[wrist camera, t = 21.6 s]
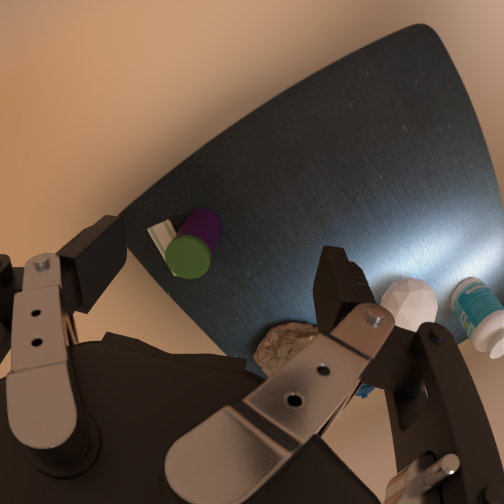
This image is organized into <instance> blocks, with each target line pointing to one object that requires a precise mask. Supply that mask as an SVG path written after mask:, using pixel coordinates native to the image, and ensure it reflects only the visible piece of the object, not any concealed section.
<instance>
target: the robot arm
mask: <svg viewBox="0 0 504 504" xmlns="http://www.w3.org/2000/svg"><path fill="white" fill-rule="evenodd" d="M126 257H127V247H126V233H125V221H124V219H123V217H118V216H110V215H105V216H104V217H103V218H101V219H100V220H99V221H98V222H96V223H95V224H94V225H92V226H90V227H88V228H86V229H83V231H81V232H80V233H79V234H77V236H76V237H74V238H73V239H72V240H71V241H69V242H68V243H67V244H66V245H65V246H63V247H62V248H61V249H60V250H59V251H58V252H57V253H56V254H52V253H45V254H39V255H36V256H34V257H33V258H31V259H29V260H28V261H27V262H26V264H25V267H12V264H11V261H10V257H9V256H8V255H5V254H0V364H1V362H2V361H3V359H4V358H5V356H6V355H7V353H8V352H9V350H10V349H11V371H10V372H9V373H8V374H7V376H6V377H3V378H1V379H0V504H381V503H380V501H379V499H378V498H377V497H376V495H375V494H374V493H373V492H372V491H371V490H370V489H369V488H368V487H367V486H366V485H365V484H364V483H363V482H362V481H361V480H360V479H359V478H358V477H357V476H356V475H355V474H354V472H353V471H352V470H351V469H350V468H349V467H348V466H347V465H346V464H345V463H344V462H343V461H342V460H341V459H340V458H339V457H338V456H337V455H336V453H335V452H334V451H333V450H332V449H331V448H330V447H329V446H328V445H327V444H326V443H325V442H324V440H323V439H322V438H323V437H324V436H325V435H326V433H327V432H328V431H329V429H330V428H331V427H332V425H333V424H334V423H335V421H336V420H337V418H338V417H339V416H340V415H341V413H342V412H343V411H344V409H345V408H346V406H347V405H348V404H349V403H350V401H351V400H352V399H353V397H354V396H355V394H356V393H357V392H358V390H359V389H360V387H361V386H362V385H363V383H364V384H367V385H370V386H373V387H377V388H380V389H384V391H385V396H386V401H387V407H388V413H389V418H390V424H391V431H392V436H393V443H394V451H395V458H396V467H397V474H396V475H395V476H394V477H393V478H392V479H391V480H390V481H389V483H388V485H387V488H386V496H385V501H384V503H383V504H504V470H503V467H502V463H501V459H500V456H499V452H498V449H497V445H496V442H495V439H494V436H493V433H492V430H491V427H490V424H489V421H488V418H487V415H486V412H485V410H484V407H483V404H482V402H481V399H480V397H479V394H478V392H477V389H476V387H475V384H474V382H473V379H472V377H471V375H470V372H469V370H468V368H467V365H466V363H465V361H464V359H463V357H462V354H461V352H460V350H459V348H458V346H457V344H456V342H455V340H454V337H453V336H452V334H451V333H450V332H449V331H448V330H447V329H446V328H445V327H443V326H441V325H440V324H437V323H434V322H424V323H422V324H421V325H420V326H419V328H418V329H417V331H416V332H414V331H411V330H407V329H404V328H401V327H398V326H396V325H395V319H394V316H393V315H392V314H391V312H389V311H388V310H387V309H386V308H384V307H382V306H380V305H378V304H376V301H375V299H374V296H373V294H372V291H371V289H370V287H369V286H368V285H369V284H368V282H367V280H366V277H365V275H364V273H363V270H362V269H361V268H360V267H359V266H358V265H357V264H356V263H355V262H350V261H348V258H347V256H346V253H345V251H344V249H343V248H339V247H333V246H326V245H325V246H324V247H323V249H322V253H321V257H320V261H319V264H318V268H317V272H316V276H315V280H314V285H313V299H314V305H315V312H316V319H317V326H318V334H317V335H316V336H315V337H314V338H313V339H312V340H311V341H310V342H309V343H308V344H307V345H306V346H304V347H303V348H302V349H301V350H300V351H299V352H298V353H297V354H296V355H295V356H293V357H292V358H291V359H290V360H289V361H288V362H287V363H286V364H284V365H283V366H282V367H281V368H280V369H279V370H278V371H276V372H275V373H274V374H273V375H272V376H271V377H269V378H268V379H267V380H266V379H264V378H262V377H261V376H259V375H257V374H254V373H252V372H250V371H247V370H245V366H246V359H242V358H235V357H228V356H222V355H215V354H170V353H167V352H164V351H162V350H160V349H158V348H156V347H153V346H151V345H149V344H147V343H144V342H142V341H140V340H138V339H135V338H130V337H126V336H122V335H118V334H114V333H110V332H106V334H105V335H104V337H103V339H102V340H101V341H89V342H83V343H79V340H78V335H77V330H76V325H75V320H74V317H73V313H74V312H75V311H78V312H82V313H85V314H88V312H89V311H90V310H91V308H92V307H93V305H94V304H95V303H96V301H97V300H98V299H99V297H100V296H101V295H102V293H103V292H104V291H105V289H106V288H107V287H108V285H109V284H110V283H111V281H112V280H113V279H114V277H115V276H116V275H117V274H118V272H119V271H120V270H121V268H122V267H123V266H124V264H125V261H126ZM425 388H426V390H427V394H428V398H427V395H426V392H425Z"/></svg>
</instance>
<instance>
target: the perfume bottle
mask: <svg viewBox="0 0 504 504" xmlns="http://www.w3.org/2000/svg"><path fill="white" fill-rule="evenodd" d="M380 306H382V307H384V308H386V309H387V310H388V311H389V312H391V314H392V315H393V316H394V319H395V325H396V326H398V327H401V328H404V329H407V330H411V331H414V332H416V331H417V329H418V328H419V326H420V325H421V324H422V323H424V322H435V317H436V313H437V309H438V304H437V300H436V297H435V293H434V291H433V290H432V289H431V288H430V287H429V286H428V285H427V284H426V283H425V282H424V281H423V280H420V279H414V278H408V277H406V278H404V279H401V280H398V281H395V282H393V283H392V284H391V285H390V286H389V288H388V289H387V290H386V291H385V293H384V294H383V295H382V298H381V302H380Z"/></svg>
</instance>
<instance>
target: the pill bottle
mask: <svg viewBox="0 0 504 504" xmlns="http://www.w3.org/2000/svg"><path fill="white" fill-rule="evenodd" d="M450 306H451V309H452V311H453V312H454V314H455V316H456V317H457V319H458V321H459V322H460V324H461V325H462V327H463V329H464V330H465V332H466V334H467V335H468V337H469V339H470V341H471V342H472V344H473V346H474V347H475V349H477V350H478V351H481V352H486V351H487V353H488V355H489V356H490V358H492V359H496V358H499V357H500V356H502V355H503V354H504V308H503V306H502V305H501V304H500V303H499V301H498V300H497V299H496V298H495V296H494V295H493V294H492V292H491V291H490V290H489V289H488V288H487V286H486V285H485V284H484V283H483V282H482V281H481V280H480V279H478V278H469V279H467V280H465V281H463V282H462V283H461V284H459V285H458V287H457V288H456V289H455V290H454V292H453V294H452V296H451V300H450Z"/></svg>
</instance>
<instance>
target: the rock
mask: <svg viewBox="0 0 504 504" xmlns="http://www.w3.org/2000/svg"><path fill="white" fill-rule="evenodd" d="M317 334H318V326H315V327H313V326H312V324H308V323H304V324H302V323H296V322H290V323H284V324H280V325H278V326H277V327H273V328H271V329H270V331H269V332H268V333H267V335H266V337H265V338H264V339H262V341H261V342H260V344H259V346H258V348H257V350H256V352H255V353H254V355H253V358H254V359H255V362H256V363H257V364H258V365H259V366H260V367H261V370H262V371H263V372H264V373H265V374H266V375H267V376H268V378H269V377H271V376H272V375H273V374H274V373H275V372H276V371H278V370H279V369H280V368H281V367H282V366H283V365H284V364H286V363H287V362H288V361H289V360H290V359H291V358H292V357H293V356H295V355H296V354H297V353H298V352H299V351H300V350H301V349H302V348H303V347H304V346H306V345H307V344H308V343H309V342H310V341H311V340H312V339H313V338H314V337H315V336H316V335H317Z"/></svg>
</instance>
